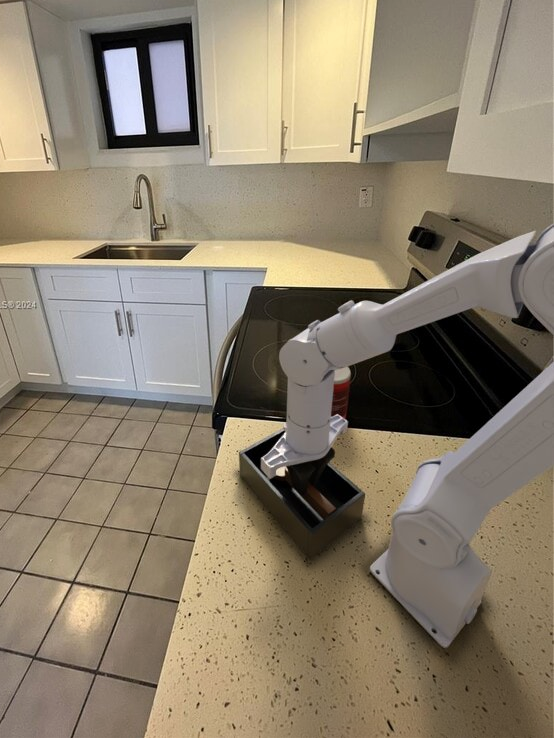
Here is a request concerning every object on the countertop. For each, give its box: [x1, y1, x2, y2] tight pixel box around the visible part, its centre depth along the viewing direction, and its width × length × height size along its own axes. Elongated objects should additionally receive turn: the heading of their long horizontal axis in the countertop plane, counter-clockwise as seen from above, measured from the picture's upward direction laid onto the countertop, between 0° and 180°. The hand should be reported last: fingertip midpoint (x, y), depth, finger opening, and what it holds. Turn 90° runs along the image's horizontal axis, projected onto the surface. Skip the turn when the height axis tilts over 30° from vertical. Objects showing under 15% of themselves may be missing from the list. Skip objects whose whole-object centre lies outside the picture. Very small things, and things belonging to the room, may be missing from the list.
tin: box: [238, 428, 366, 561], centre depth 53 cm, size 16×10×5 cm, turn 33°
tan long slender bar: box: [273, 466, 336, 520], centre depth 53 cm, size 12×4×2 cm, turn 33°
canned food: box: [331, 366, 352, 420], centre depth 68 cm, size 8×8×11 cm
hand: (304, 486), depth 52 cm, fingers closed on tan long slender bar, 1 cm apart
